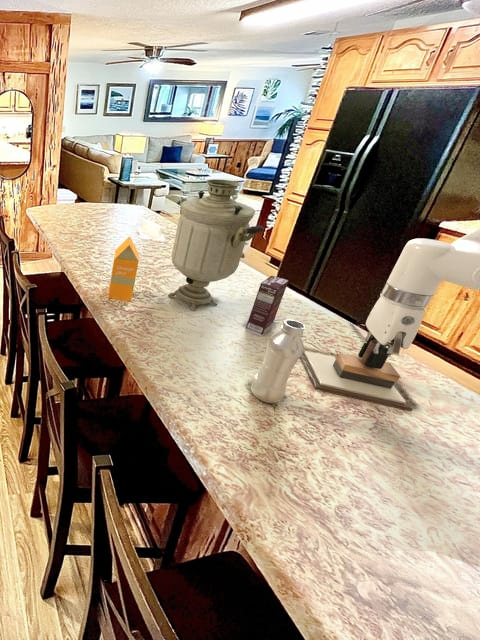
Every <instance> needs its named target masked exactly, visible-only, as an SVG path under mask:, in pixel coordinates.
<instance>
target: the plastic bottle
mask: <svg viewBox="0 0 480 640" xmlns="http://www.w3.org/2000/svg"><path fill="white" fill-rule="evenodd" d="M305 328H306V326H305V324H303V323H302V322H301V321H298V320H295V319H285V320H284V321H283V324H282V325H281V327H280V331H277V332H275V333H273V334H272V335H271V336H270V337H269V339H268V341H267V346H266V352H265V355H264V359H263V361H262V364H261V366H260V368H259V369H258V371H257V373H256V374H255V376H254V377H253V379H252V381H251V384H250V390H251V392H252V395H253V396H254V397H255V398H256V399H258V400H259V401H262V402H263V403H267V404H276V403H278V402H280V401H282V400H283V398H284V396H285V394H286V390H287V384H288V381H289V379H290V375H291V372H292V370H293V369H294V367H295V365H296V364H297V363H298V361H299V359H301V358H300V356H301V355H302V353H303V352H304V351H305V345H304V342H303V339H302V338H301V337H303V335H304V330H305Z"/></svg>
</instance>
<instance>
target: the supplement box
mask: <svg viewBox="0 0 480 640" xmlns="http://www.w3.org/2000/svg"><path fill="white" fill-rule="evenodd" d="M288 285H289V280H288V279H285V278H282V277H279V276H275V275H270V276H268V277H267V278H266V279H264V280H263V281H262V282H260V285H259V288H258V290H257V293H256V297H255V299H254V302H253V305H252V308H251V311H250V314H249V316H248V319H247V321H246V322H247V323H246V326H245V329H244V331H246V332H249V333H251V334H253V335H256V336H258V337H263V336H265V334H266V333H267V332H268V331H269V330H270V329H271V328H272V327H273V325H274V322H275V320H276V316H277V314H278V311H279V308H280V305H281V302H282V300H283V297H284V295H285V292H286V290H287V287H288Z"/></svg>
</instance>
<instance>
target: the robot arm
mask: <svg viewBox="0 0 480 640" xmlns="http://www.w3.org/2000/svg"><path fill="white" fill-rule="evenodd" d="M442 281H444V282H447V283H451V284H455V285H458V286H460V287H464V288H467V289H471V290H476V291H477V290H478V291H480V227H479V228H476V229H474V230H473V231H470V232H469V233H467V234H465V235H463V236H461V237H460V238H457V239H456V240H454V241H453V242H452V243H448V242H445V241H442V240H438V239H431V238H419V237H418V238H413V239H411V240H408V241H407V242H406V244H405V245H404V247H403V249H402V251H401V253H400V256H399V257H398V259H397V261H396V263H395V265H394V267H393V268H392V271H391V273H390V274H389V277H388V279H387V280H386V283H385V285H384V286H383V288H382V289H381V291H380V294H379V298H378V299H377V301H376V302H375V304H374V306H373V307H372V309H371V311H370V312H369V315H367V319H366V321H365V327H366V329H367V331H366V333H367V334H366V336H365V338H364V342H363V344H362V346H361V348H360V350H359V352H358V354H357V356H359V357H360V358H362V357H363V355H364V353H365V351H366V349H367V347H368V345H369V344H370V342H371V340H378V342H377V344H376V346H375V348H374V350H373V351H370V353H369V355H368V357H367V359H366V361H365V362H364V365H365V366H368V367H373V368H378V369H381V368H382V367H383V365H384V363H385V362H387V360H388V358H389V357H392V356H393V355H394V356H399V355H400V352H401V349H403V350H408V349H409V348H410V347H411V345H412V343H413V341H415V339H416V336H417V333H418V331H419V329H420V327H421V324H422V322H423V319H424V317H425V311H426V310H425V309H427V307H428V306H429V303H430V302H431V301H432V299H433V297H434V295H435V293H436V292H437V290H438V288H439V287H440V285H441V284H442ZM382 345H384V346H387V347H386V348H385V347H383V348H381V347H382Z"/></svg>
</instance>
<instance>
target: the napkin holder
mask: <svg viewBox="0 0 480 640" xmlns="http://www.w3.org/2000/svg"><path fill="white" fill-rule="evenodd" d="M138 233H139V236H140V239H143V240H144V239H145V240H154V241H166V238H165V237H164V234H163V233H164V226H162V225H159V224H158V223H156V222H154V221H152V220H151V221H150V220H143V225H142V228H138Z"/></svg>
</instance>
